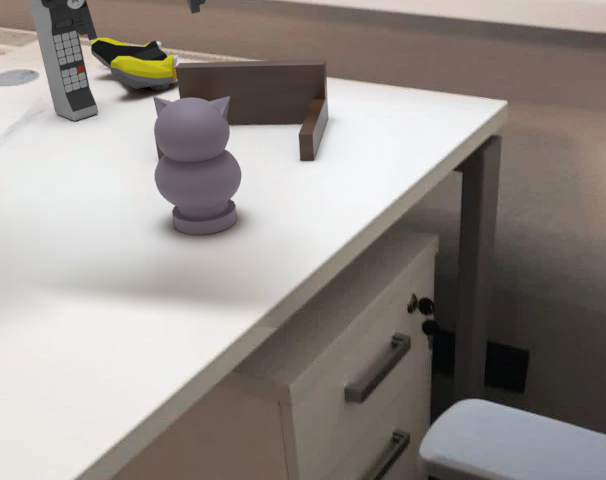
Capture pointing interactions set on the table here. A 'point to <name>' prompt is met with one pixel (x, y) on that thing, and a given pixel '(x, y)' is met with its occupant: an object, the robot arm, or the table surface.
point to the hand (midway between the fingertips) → (141, 18)
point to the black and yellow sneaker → (137, 63)
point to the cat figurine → (196, 164)
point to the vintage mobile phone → (63, 61)
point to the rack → (264, 94)
